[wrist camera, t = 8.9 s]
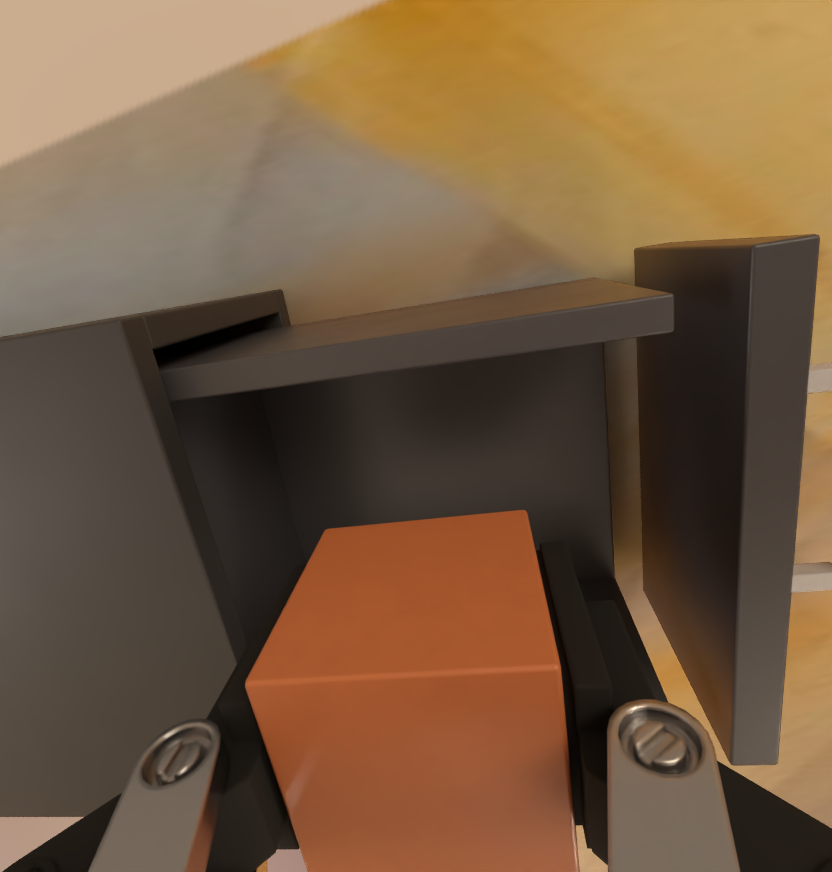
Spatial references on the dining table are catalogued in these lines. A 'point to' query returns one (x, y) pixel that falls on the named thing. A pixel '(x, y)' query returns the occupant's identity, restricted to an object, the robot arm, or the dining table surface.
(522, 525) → the block
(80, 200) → the dining table surface
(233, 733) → the robot arm
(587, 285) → the drawer
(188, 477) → the cabinet
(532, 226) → the dining table surface
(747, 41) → the dining table surface
